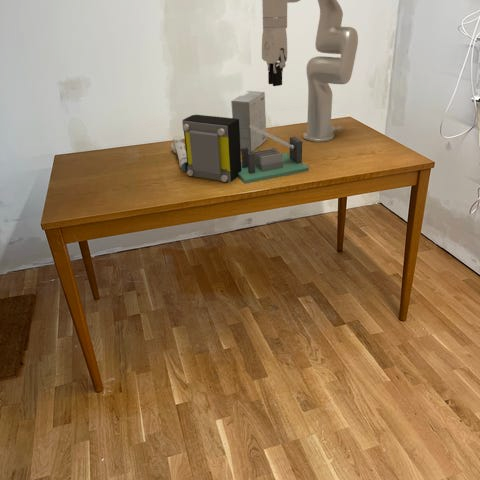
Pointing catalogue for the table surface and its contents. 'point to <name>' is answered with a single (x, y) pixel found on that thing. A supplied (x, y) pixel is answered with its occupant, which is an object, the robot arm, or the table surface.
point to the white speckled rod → (180, 152)
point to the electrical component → (212, 147)
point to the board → (273, 173)
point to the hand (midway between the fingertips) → (275, 84)
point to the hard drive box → (250, 118)
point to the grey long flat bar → (272, 137)
